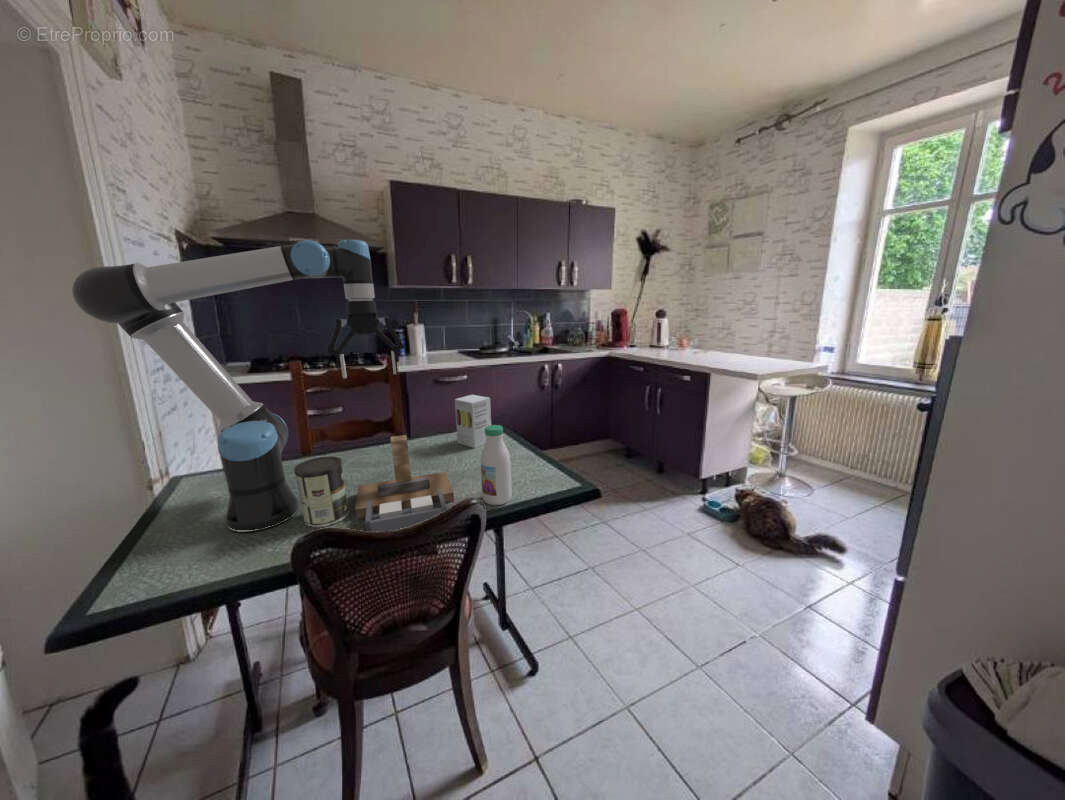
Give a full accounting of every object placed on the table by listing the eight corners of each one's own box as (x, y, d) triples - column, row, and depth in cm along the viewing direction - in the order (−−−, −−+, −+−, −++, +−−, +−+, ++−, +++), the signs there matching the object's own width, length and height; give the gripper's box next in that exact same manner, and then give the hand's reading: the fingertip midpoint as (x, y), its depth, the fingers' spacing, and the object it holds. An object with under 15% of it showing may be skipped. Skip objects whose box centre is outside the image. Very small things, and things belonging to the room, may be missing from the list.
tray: (367, 539, 92) (365, 523, 91) (369, 516, 102) (367, 501, 101) (448, 523, 98) (446, 508, 97) (442, 503, 107) (441, 489, 106)
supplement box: (456, 443, 150) (453, 399, 146) (474, 436, 158) (471, 393, 153) (475, 448, 145) (472, 402, 141) (493, 441, 152) (490, 397, 148)
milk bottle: (506, 489, 114) (503, 421, 109) (515, 502, 107) (512, 429, 102) (479, 495, 111) (475, 425, 106) (487, 508, 104) (482, 434, 99)
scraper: (378, 496, 106) (372, 446, 103) (379, 487, 111) (372, 439, 108) (430, 488, 110) (425, 439, 107) (428, 479, 116) (423, 432, 112)
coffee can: (341, 502, 109) (333, 452, 106) (355, 516, 102) (347, 463, 99) (298, 516, 103) (288, 464, 99) (310, 533, 95) (300, 477, 92)
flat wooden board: (356, 518, 101) (354, 509, 100) (359, 493, 114) (358, 485, 113) (454, 501, 108) (453, 492, 108) (446, 479, 121) (446, 471, 121)
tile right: (412, 519, 99) (411, 508, 98) (411, 509, 103) (410, 498, 103) (434, 515, 100) (432, 504, 100) (431, 505, 105) (430, 495, 104)
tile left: (380, 525, 97) (379, 514, 96) (381, 515, 101) (379, 504, 100) (403, 521, 98) (401, 510, 97) (402, 511, 103) (401, 500, 102)
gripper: (406, 298, 121) (414, 369, 126) (312, 301, 113) (324, 376, 118) (408, 298, 114) (415, 373, 119) (308, 301, 106) (320, 381, 112)
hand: (370, 375), depth 119 cm, fingers open, 13 cm apart
